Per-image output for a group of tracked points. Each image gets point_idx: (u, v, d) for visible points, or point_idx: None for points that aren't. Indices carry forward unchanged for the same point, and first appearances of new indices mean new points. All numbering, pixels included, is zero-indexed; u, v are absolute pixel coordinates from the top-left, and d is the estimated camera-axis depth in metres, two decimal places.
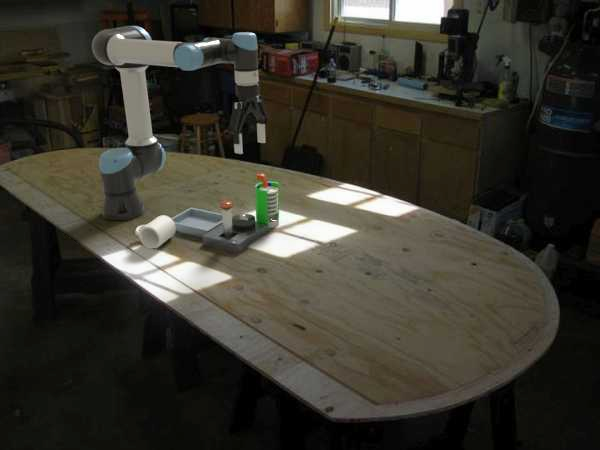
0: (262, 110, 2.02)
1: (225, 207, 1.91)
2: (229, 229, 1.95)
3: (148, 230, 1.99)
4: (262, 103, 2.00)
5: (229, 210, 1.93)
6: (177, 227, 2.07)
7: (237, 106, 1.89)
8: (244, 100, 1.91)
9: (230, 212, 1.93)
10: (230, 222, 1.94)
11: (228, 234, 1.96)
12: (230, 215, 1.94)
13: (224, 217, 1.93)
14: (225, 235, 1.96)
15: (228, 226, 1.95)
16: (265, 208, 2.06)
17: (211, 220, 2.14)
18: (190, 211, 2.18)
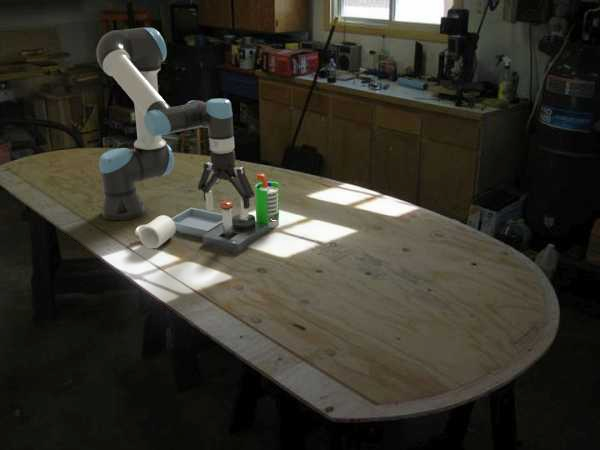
0: None
1: (225, 207, 1.91)
2: (229, 229, 1.95)
3: (148, 230, 1.99)
4: (239, 177, 1.85)
5: (229, 210, 1.93)
6: (177, 227, 2.07)
7: None
8: (212, 164, 1.88)
9: (230, 212, 1.93)
10: (230, 222, 1.94)
11: (228, 234, 1.96)
12: (230, 215, 1.94)
13: (224, 217, 1.93)
14: (225, 235, 1.96)
15: (228, 226, 1.95)
16: (265, 208, 2.06)
17: (211, 220, 2.14)
18: (190, 211, 2.18)
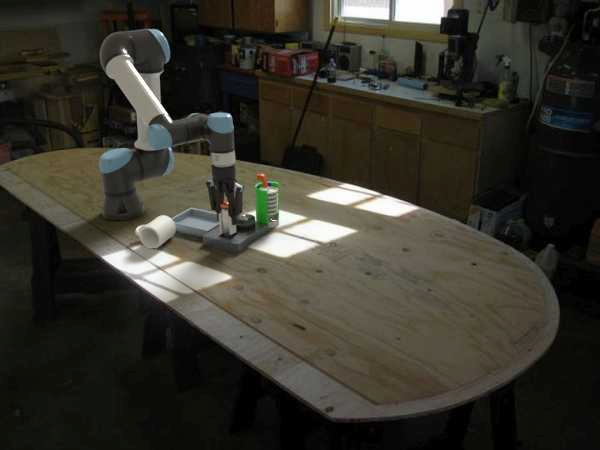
0: None
1: (225, 207, 1.91)
2: None
3: (148, 230, 1.99)
4: (236, 194, 1.88)
5: (229, 210, 1.93)
6: (177, 227, 2.07)
7: None
8: None
9: None
10: None
11: (228, 234, 1.96)
12: None
13: (224, 217, 1.93)
14: (225, 235, 1.96)
15: (228, 226, 1.95)
16: (265, 208, 2.06)
17: (211, 220, 2.14)
18: (190, 211, 2.18)
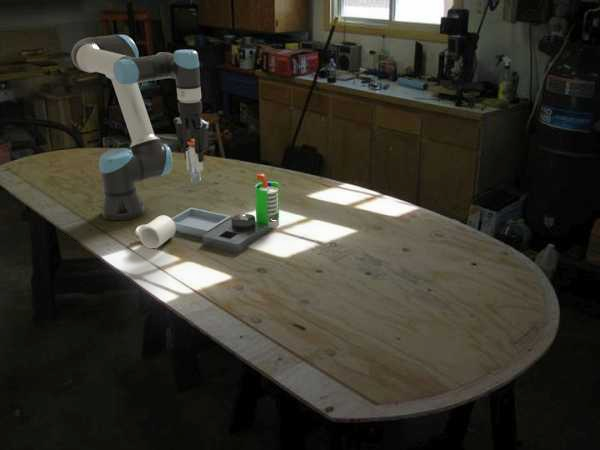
0: None
1: (192, 144, 1.97)
2: None
3: (148, 230, 1.99)
4: (202, 131, 1.93)
5: None
6: (177, 227, 2.07)
7: None
8: None
9: None
10: None
11: (195, 171, 2.01)
12: None
13: (191, 154, 1.99)
14: (192, 172, 2.02)
15: (195, 164, 2.00)
16: (265, 208, 2.06)
17: (211, 220, 2.14)
18: (190, 211, 2.18)
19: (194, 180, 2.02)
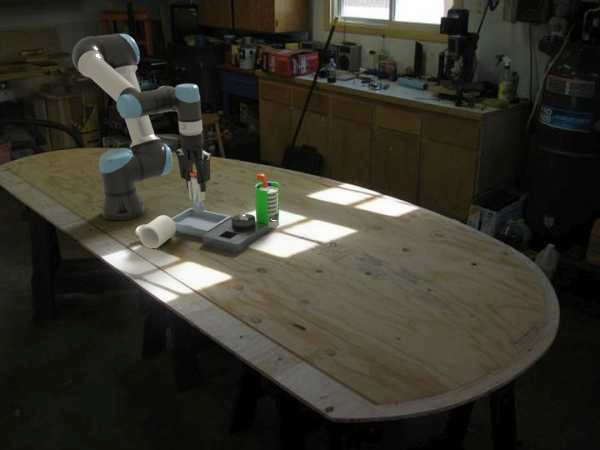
0: None
1: (194, 175, 2.02)
2: None
3: (148, 230, 1.99)
4: (203, 162, 1.98)
5: None
6: (177, 227, 2.07)
7: None
8: None
9: None
10: None
11: (197, 201, 2.06)
12: None
13: (193, 185, 2.04)
14: (194, 202, 2.06)
15: (197, 194, 2.05)
16: (265, 208, 2.06)
17: (211, 220, 2.14)
18: (190, 211, 2.18)
19: (197, 210, 2.07)
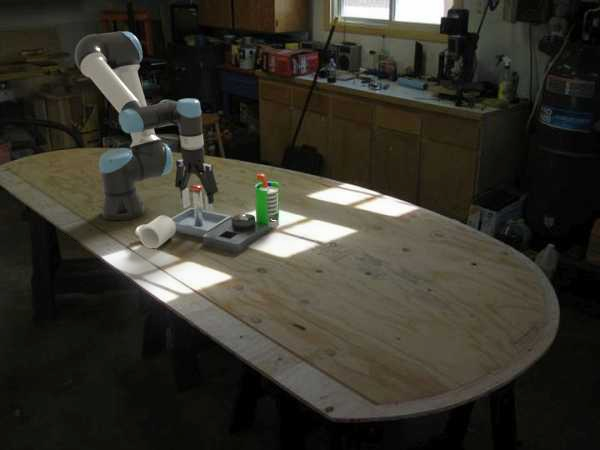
0: None
1: (195, 190, 2.04)
2: (199, 211, 2.07)
3: (148, 230, 1.99)
4: (207, 174, 1.99)
5: (199, 193, 2.05)
6: (177, 227, 2.07)
7: None
8: (183, 159, 2.02)
9: (200, 195, 2.06)
10: (200, 204, 2.07)
11: (198, 215, 2.08)
12: (200, 197, 2.06)
13: (194, 199, 2.06)
14: (195, 216, 2.08)
15: (198, 208, 2.07)
16: (265, 208, 2.06)
17: (211, 220, 2.14)
18: (190, 211, 2.18)
19: (197, 223, 2.09)
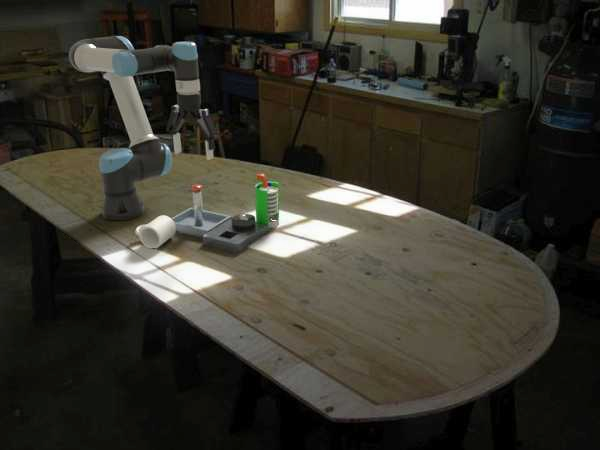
0: None
1: (195, 190, 2.04)
2: (199, 211, 2.07)
3: (148, 230, 1.99)
4: (204, 119, 1.92)
5: (199, 193, 2.05)
6: (177, 227, 2.07)
7: None
8: (179, 106, 1.96)
9: (200, 195, 2.06)
10: (200, 204, 2.07)
11: (198, 215, 2.08)
12: (200, 197, 2.06)
13: (194, 199, 2.06)
14: (195, 216, 2.08)
15: (198, 208, 2.07)
16: (265, 208, 2.06)
17: (211, 220, 2.14)
18: (190, 211, 2.18)
19: (197, 223, 2.09)
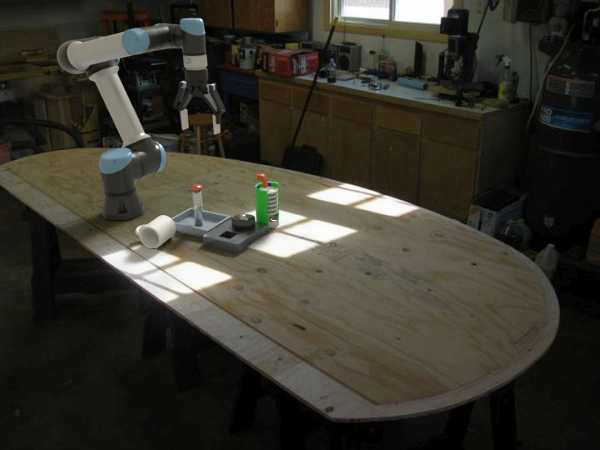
0: None
1: (195, 190, 2.04)
2: (199, 211, 2.07)
3: (148, 230, 1.99)
4: (211, 93, 1.98)
5: (199, 193, 2.05)
6: (177, 227, 2.07)
7: None
8: (187, 82, 2.01)
9: (200, 195, 2.06)
10: (200, 204, 2.07)
11: (198, 215, 2.08)
12: (200, 197, 2.06)
13: (194, 199, 2.06)
14: (195, 216, 2.08)
15: (198, 208, 2.07)
16: (265, 208, 2.06)
17: (211, 220, 2.14)
18: (190, 211, 2.18)
19: (197, 223, 2.09)
